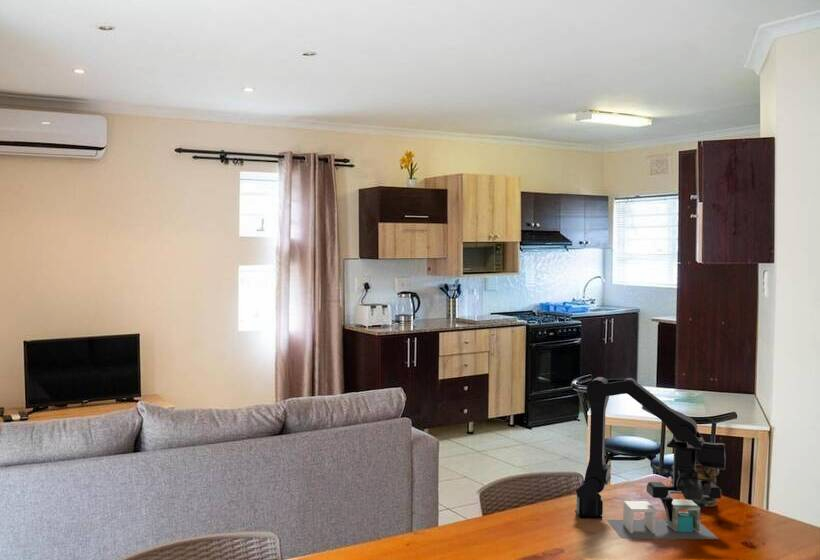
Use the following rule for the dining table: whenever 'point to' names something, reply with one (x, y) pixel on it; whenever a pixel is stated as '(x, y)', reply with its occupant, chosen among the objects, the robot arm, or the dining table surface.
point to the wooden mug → (709, 475)
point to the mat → (658, 531)
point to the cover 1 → (639, 507)
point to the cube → (685, 522)
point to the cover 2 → (684, 505)
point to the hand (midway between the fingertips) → (682, 521)
